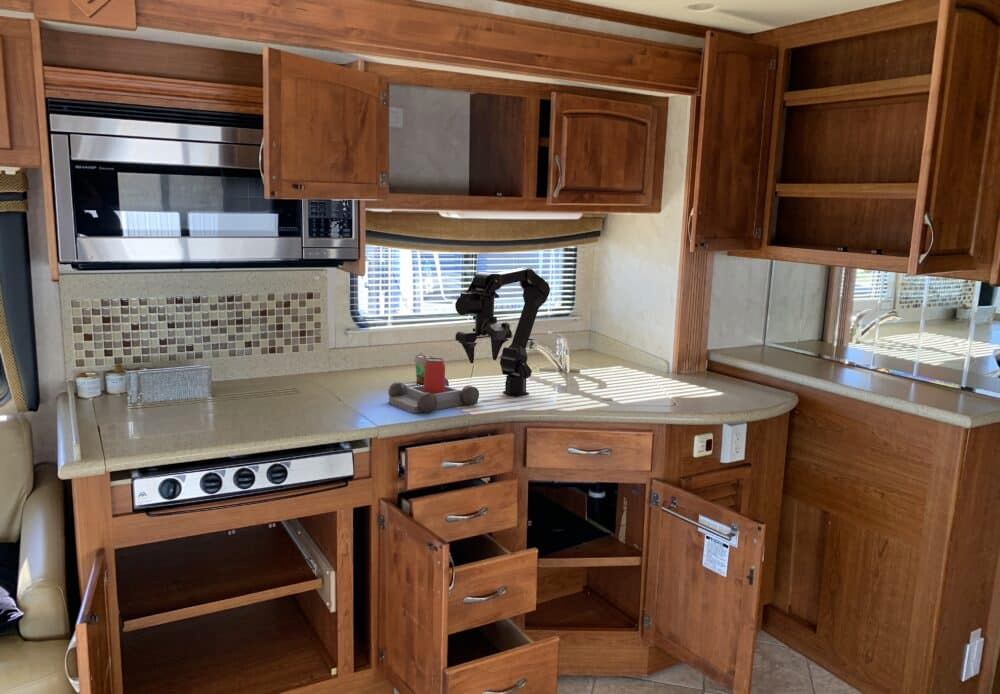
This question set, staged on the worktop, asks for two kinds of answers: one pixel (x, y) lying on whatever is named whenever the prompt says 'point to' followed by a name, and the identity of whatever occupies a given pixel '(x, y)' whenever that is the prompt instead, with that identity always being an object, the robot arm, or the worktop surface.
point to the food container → (420, 367)
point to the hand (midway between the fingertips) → (483, 361)
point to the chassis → (430, 397)
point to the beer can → (434, 375)
